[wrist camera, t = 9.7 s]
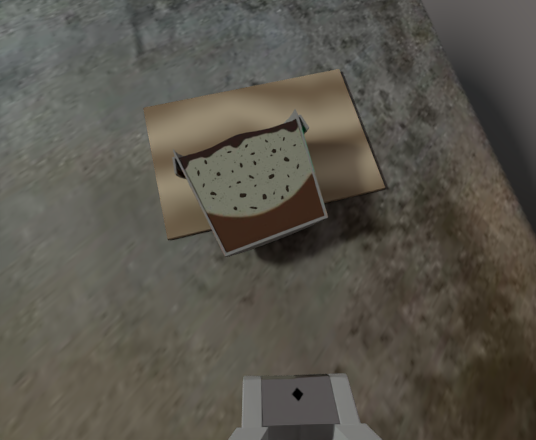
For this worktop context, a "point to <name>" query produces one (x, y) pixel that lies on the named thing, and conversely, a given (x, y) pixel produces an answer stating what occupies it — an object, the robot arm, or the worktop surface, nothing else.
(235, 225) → the food container
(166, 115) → the oak board
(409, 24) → the worktop surface
